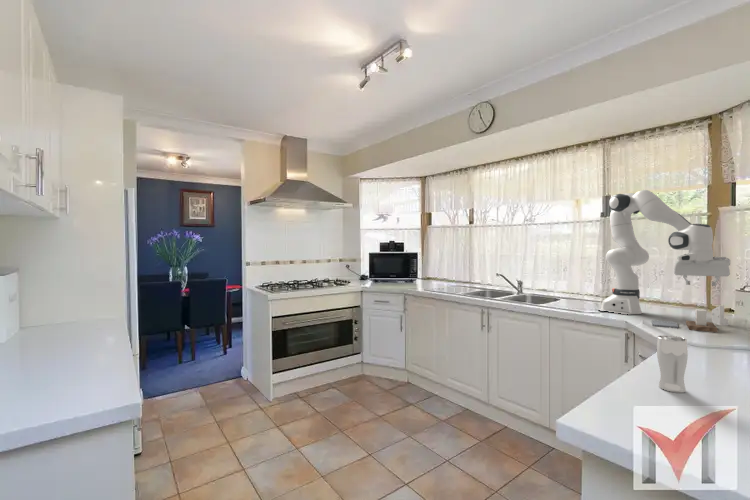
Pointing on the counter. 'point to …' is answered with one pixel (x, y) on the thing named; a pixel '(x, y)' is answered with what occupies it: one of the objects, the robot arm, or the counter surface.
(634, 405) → the counter surface
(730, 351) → the counter surface
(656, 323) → the slate pad
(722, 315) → the white wedge bracket
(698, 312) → the plug
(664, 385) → the beer glass
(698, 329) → the header collar
